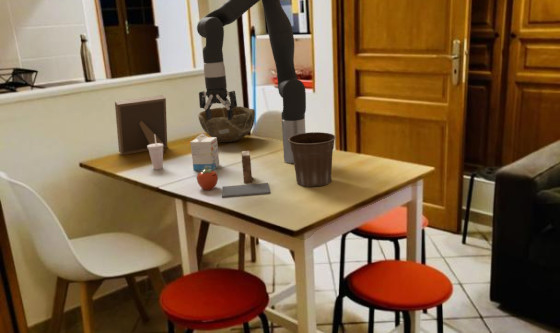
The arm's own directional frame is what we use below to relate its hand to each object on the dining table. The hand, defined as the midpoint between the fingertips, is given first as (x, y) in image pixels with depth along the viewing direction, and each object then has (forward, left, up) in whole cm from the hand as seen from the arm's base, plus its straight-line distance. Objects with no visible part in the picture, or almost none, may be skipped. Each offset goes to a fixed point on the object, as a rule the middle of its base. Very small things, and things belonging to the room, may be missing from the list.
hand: (219, 119), depth 190 cm
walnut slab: (-8, +8, -22) cm, 24 cm away
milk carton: (+8, -13, -22) cm, 27 cm away
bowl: (-1, -56, -22) cm, 61 cm away
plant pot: (-31, +17, -22) cm, 42 cm away
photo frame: (+37, -47, -22) cm, 64 cm away
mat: (-7, +20, -22) cm, 30 cm away
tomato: (+6, +14, -22) cm, 26 cm away
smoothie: (+28, -18, -22) cm, 40 cm away
